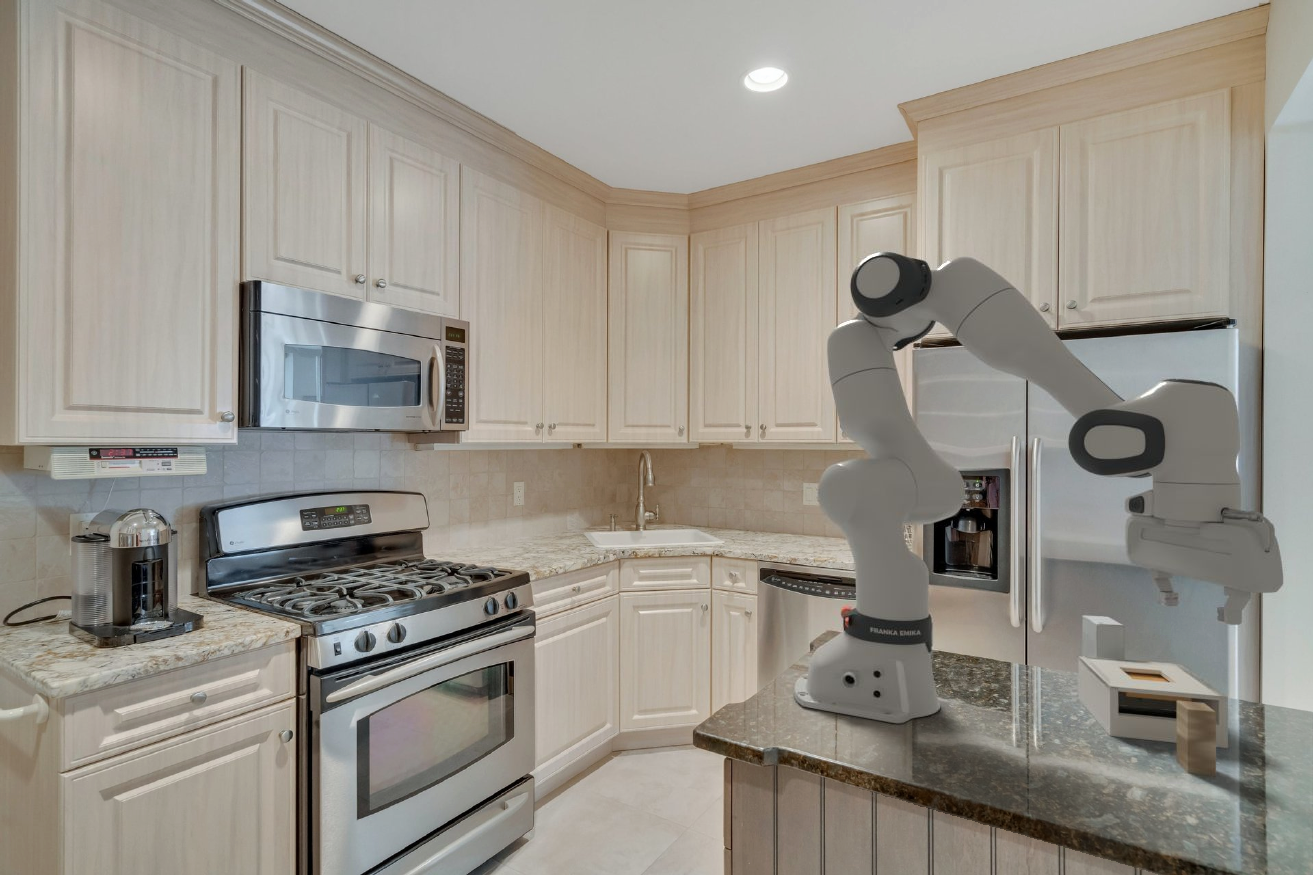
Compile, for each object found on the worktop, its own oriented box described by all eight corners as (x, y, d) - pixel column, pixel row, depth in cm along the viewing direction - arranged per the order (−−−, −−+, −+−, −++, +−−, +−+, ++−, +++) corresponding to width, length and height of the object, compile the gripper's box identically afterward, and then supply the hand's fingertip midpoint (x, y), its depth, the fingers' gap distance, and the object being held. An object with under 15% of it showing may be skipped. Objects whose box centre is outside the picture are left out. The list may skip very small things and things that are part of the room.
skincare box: (1125, 699, 110) (1125, 625, 110) (1096, 697, 111) (1096, 623, 111) (1108, 686, 116) (1108, 615, 116) (1081, 684, 117) (1081, 614, 117)
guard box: (1110, 735, 96) (1110, 686, 96) (1078, 699, 110) (1078, 656, 110) (1227, 748, 92) (1227, 696, 93) (1180, 708, 106) (1180, 664, 106)
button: (1126, 707, 98) (1126, 687, 98) (1106, 687, 106) (1106, 670, 106) (1191, 713, 96) (1191, 693, 96) (1166, 693, 104) (1166, 674, 104)
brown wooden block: (1187, 772, 86) (1187, 709, 86) (1176, 761, 89) (1176, 700, 89) (1215, 775, 85) (1215, 711, 85) (1204, 764, 88) (1203, 702, 88)
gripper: (1299, 512, 77) (1301, 636, 76) (1158, 498, 97) (1159, 595, 97) (1245, 513, 76) (1247, 636, 76) (1115, 499, 97) (1116, 596, 97)
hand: (1197, 613), depth 87 cm, fingers open, 8 cm apart
